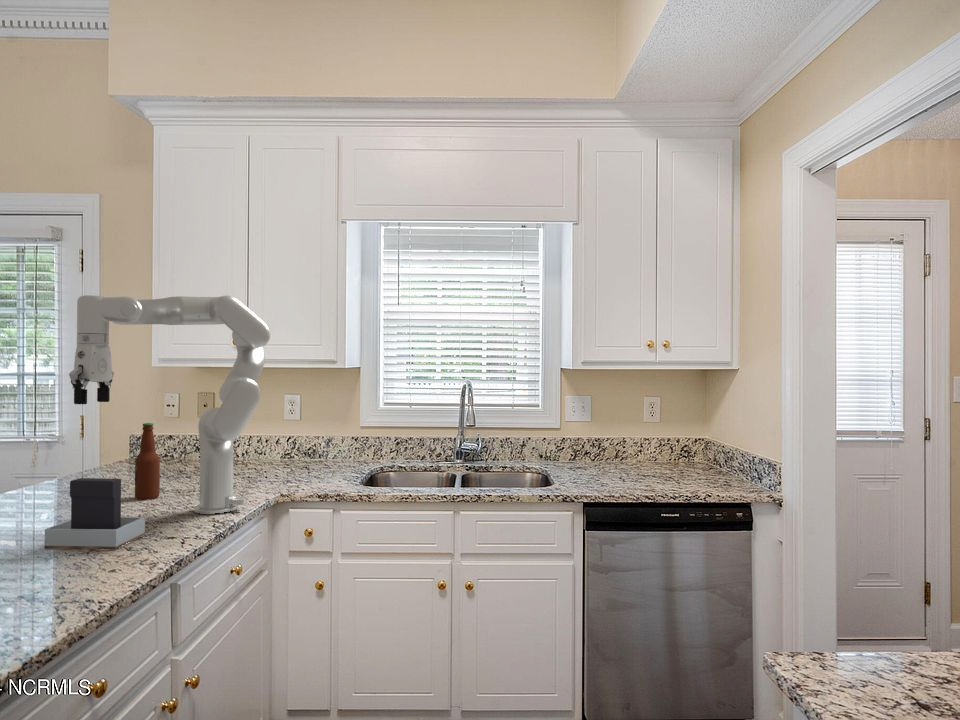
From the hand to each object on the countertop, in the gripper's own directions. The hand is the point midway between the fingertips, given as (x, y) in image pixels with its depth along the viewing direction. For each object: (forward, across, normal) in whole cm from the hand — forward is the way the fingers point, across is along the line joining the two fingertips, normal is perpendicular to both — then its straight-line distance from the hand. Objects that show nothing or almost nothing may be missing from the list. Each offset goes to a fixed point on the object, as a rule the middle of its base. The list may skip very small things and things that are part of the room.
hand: (92, 402), depth 170 cm
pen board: (+34, -13, -10) cm, 38 cm away
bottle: (+34, +37, +5) cm, 51 cm away
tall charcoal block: (+34, -14, -10) cm, 38 cm away
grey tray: (+34, -13, -10) cm, 38 cm away
